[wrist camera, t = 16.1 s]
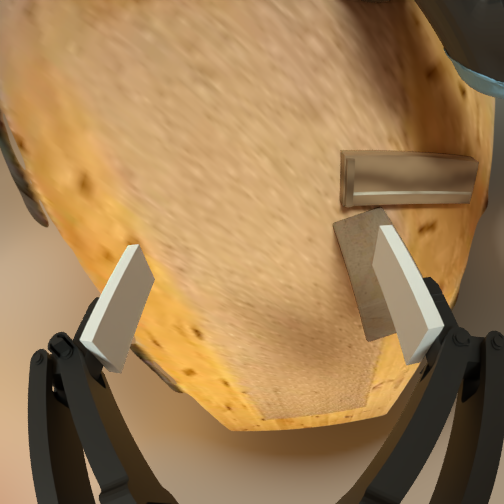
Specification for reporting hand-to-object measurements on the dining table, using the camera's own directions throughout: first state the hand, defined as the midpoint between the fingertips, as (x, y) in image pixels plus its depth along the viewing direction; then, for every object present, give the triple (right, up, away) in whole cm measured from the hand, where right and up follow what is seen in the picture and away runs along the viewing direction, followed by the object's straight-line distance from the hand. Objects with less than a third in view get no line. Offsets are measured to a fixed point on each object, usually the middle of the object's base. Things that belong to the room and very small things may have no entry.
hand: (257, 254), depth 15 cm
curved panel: (+28, +14, +27) cm, 41 cm away
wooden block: (+21, +4, +36) cm, 42 cm away
